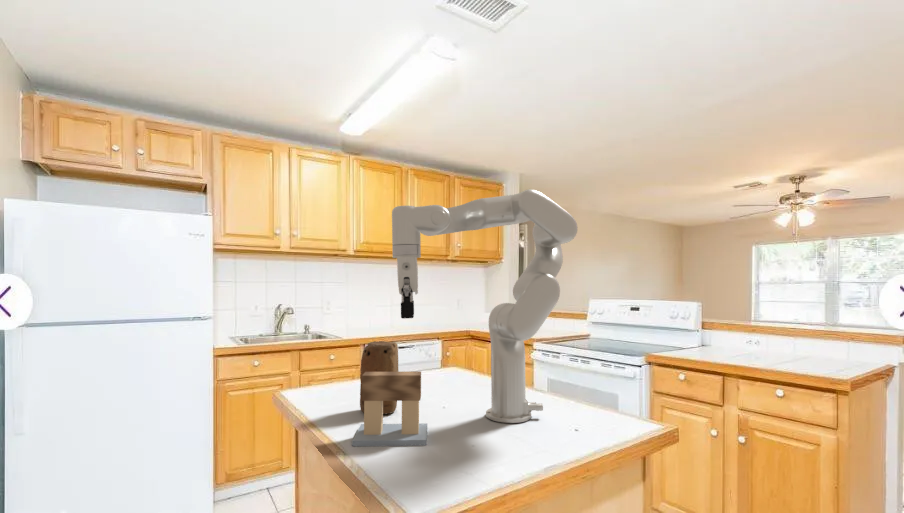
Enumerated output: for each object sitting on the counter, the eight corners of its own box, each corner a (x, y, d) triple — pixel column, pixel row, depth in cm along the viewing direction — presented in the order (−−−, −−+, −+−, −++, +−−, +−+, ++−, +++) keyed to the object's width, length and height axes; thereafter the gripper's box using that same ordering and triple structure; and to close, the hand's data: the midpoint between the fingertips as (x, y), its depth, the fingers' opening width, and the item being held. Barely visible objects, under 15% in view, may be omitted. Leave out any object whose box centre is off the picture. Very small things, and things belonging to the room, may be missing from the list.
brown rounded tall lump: (399, 408, 132) (400, 341, 133) (393, 416, 125) (394, 344, 126) (364, 407, 133) (365, 340, 134) (356, 414, 126) (357, 343, 127)
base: (427, 428, 114) (427, 391, 115) (426, 445, 102) (426, 404, 103) (361, 428, 114) (361, 392, 114) (352, 446, 102) (352, 405, 102)
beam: (421, 395, 111) (421, 371, 112) (420, 400, 107) (420, 375, 107) (364, 396, 111) (365, 371, 111) (361, 400, 106) (362, 375, 107)
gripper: (420, 250, 110) (422, 319, 110) (420, 254, 128) (421, 313, 127) (390, 250, 110) (391, 320, 109) (394, 254, 127) (395, 314, 126)
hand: (407, 316), depth 118 cm, fingers open, 9 cm apart
